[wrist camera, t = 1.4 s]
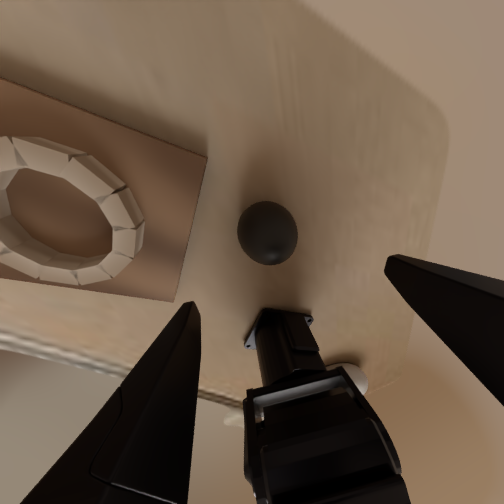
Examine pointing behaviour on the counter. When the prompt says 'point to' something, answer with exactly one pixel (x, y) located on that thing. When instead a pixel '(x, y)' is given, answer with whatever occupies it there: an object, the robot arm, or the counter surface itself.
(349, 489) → the robot arm
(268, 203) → the egg
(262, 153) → the counter surface
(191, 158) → the egg stand
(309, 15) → the counter surface
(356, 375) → the donut
